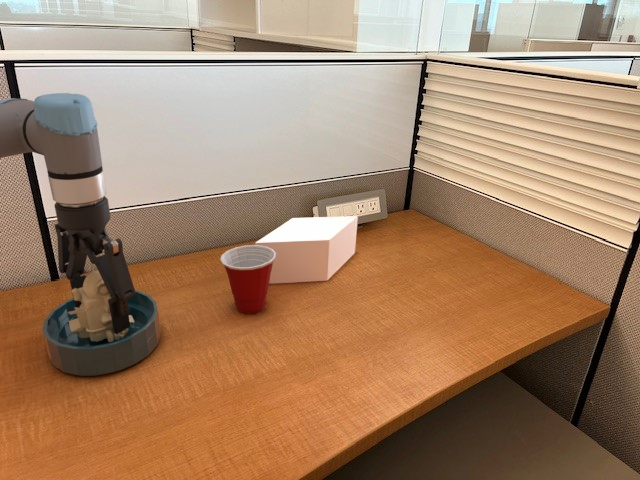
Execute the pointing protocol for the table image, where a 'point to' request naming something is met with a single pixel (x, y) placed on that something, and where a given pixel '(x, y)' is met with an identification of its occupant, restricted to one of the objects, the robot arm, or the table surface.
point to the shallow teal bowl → (102, 355)
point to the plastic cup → (249, 275)
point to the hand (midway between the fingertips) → (103, 319)
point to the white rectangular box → (310, 248)
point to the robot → (94, 310)
